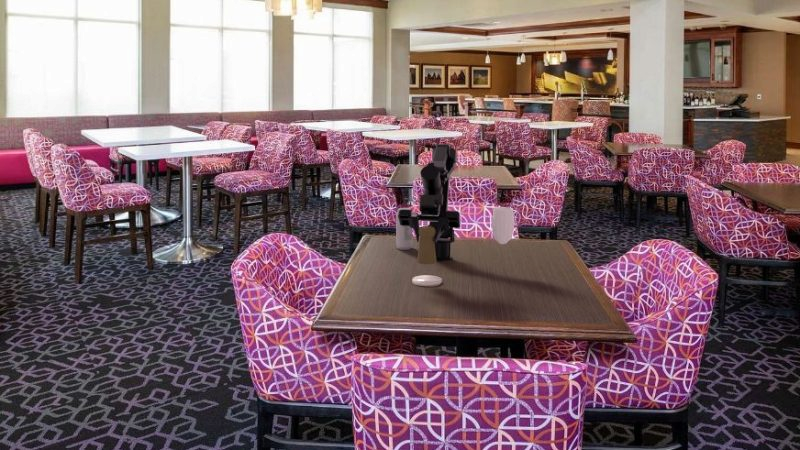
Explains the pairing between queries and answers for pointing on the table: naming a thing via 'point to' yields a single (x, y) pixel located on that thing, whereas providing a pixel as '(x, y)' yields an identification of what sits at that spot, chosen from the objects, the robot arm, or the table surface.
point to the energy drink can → (403, 234)
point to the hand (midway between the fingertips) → (426, 241)
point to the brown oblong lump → (426, 245)
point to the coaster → (427, 280)
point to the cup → (503, 224)
